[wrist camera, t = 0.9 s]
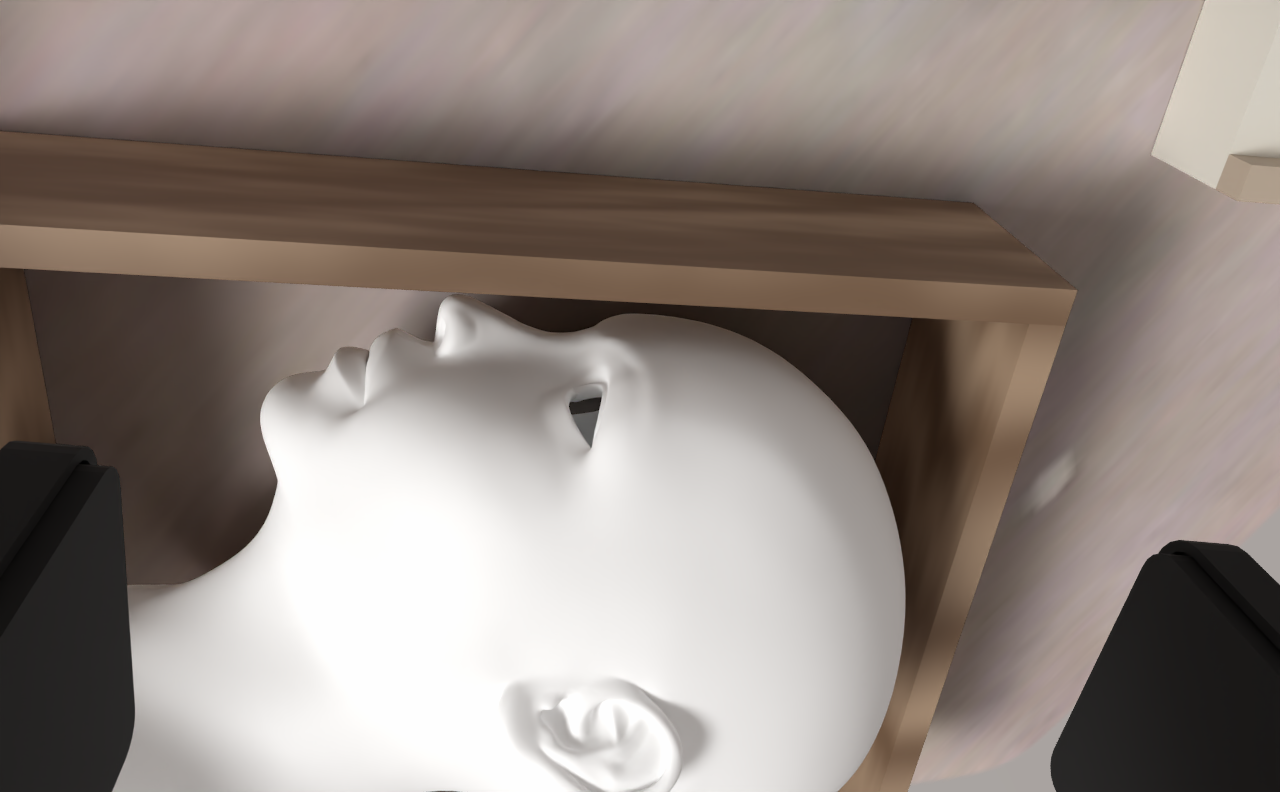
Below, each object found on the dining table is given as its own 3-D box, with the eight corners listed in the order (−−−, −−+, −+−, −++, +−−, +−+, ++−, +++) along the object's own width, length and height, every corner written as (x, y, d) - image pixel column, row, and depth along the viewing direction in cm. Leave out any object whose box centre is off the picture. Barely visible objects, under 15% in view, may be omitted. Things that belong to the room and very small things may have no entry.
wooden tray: (-43, 127, 33) (-186, 213, 26) (973, 202, 38) (1077, 290, 32) (82, 742, 46) (8, 908, 39) (827, 734, 52) (878, 878, 45)
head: (109, 293, 40) (827, 221, 41) (219, 758, 46) (845, 683, 47) (-178, 418, 24) (989, 297, 26) (43, 1099, 30) (985, 973, 32)
